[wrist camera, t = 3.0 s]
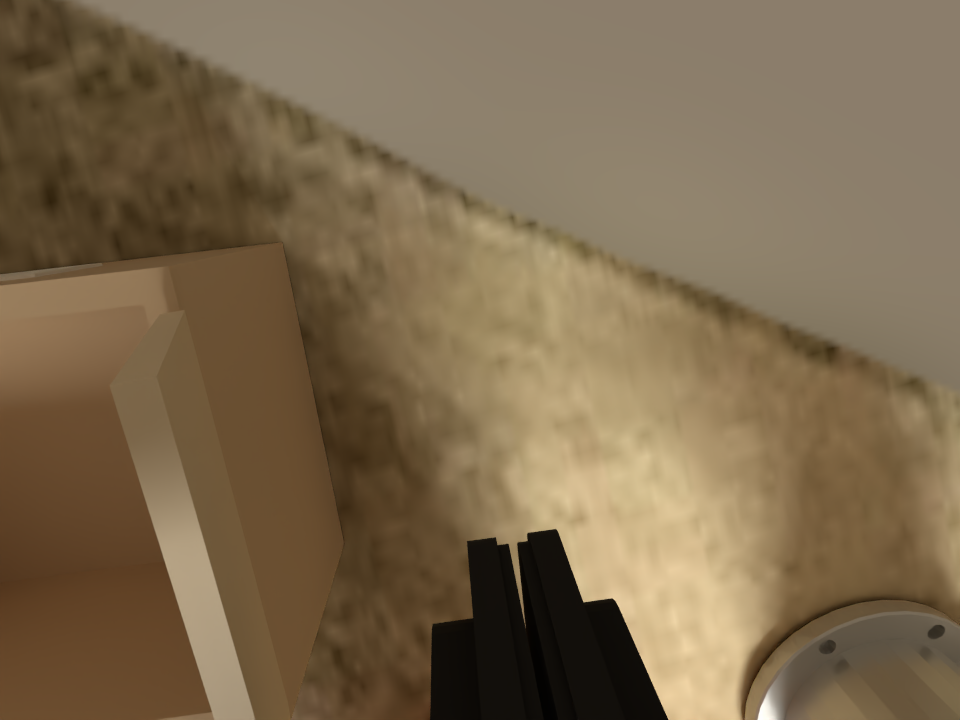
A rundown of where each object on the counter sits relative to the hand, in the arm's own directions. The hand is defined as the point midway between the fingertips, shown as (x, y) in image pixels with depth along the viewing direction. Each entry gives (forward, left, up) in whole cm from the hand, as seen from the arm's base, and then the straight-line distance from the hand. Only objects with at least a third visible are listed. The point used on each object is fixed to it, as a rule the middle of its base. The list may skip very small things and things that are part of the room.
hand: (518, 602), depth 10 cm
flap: (+6, 0, -1) cm, 6 cm away
